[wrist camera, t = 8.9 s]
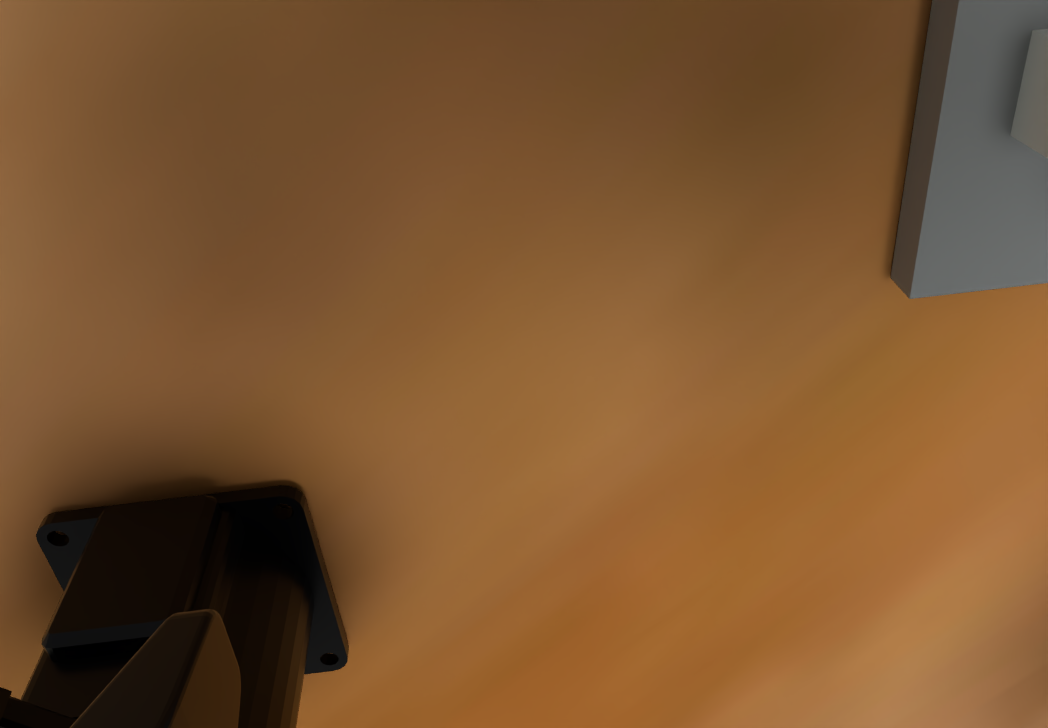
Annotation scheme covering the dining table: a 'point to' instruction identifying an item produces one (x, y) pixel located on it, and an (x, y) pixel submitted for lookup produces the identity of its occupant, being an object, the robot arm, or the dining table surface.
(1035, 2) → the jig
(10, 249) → the dining table surface
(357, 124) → the dining table surface
